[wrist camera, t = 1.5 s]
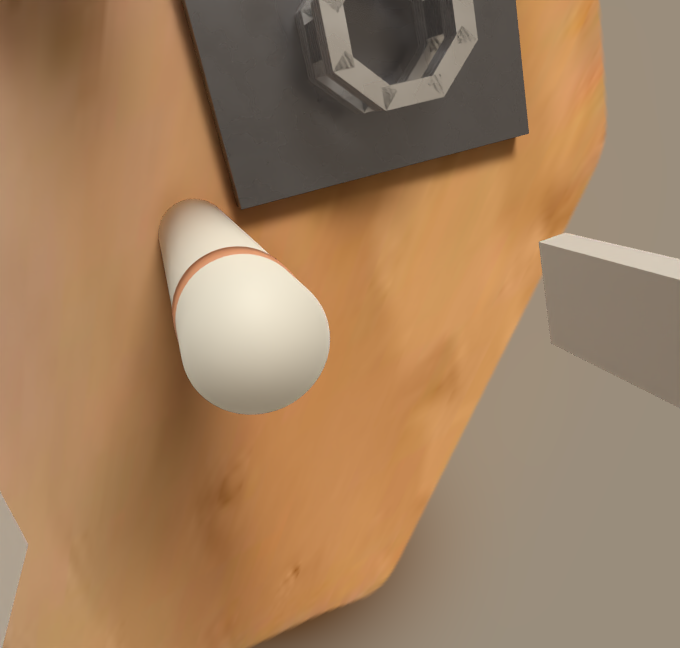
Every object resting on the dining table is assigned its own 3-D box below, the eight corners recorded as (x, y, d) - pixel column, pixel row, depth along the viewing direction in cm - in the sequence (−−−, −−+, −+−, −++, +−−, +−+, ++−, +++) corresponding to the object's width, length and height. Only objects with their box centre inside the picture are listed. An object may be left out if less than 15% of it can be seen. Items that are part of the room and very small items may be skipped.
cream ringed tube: (170, 279, 38) (204, 435, 18) (147, 208, 37) (157, 295, 17) (240, 259, 39) (345, 388, 19) (220, 190, 38) (312, 251, 18)
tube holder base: (237, 206, 38) (255, 219, 32) (157, -87, 33) (161, -136, 27) (516, 133, 43) (577, 133, 37) (487, -138, 37) (553, -190, 31)
